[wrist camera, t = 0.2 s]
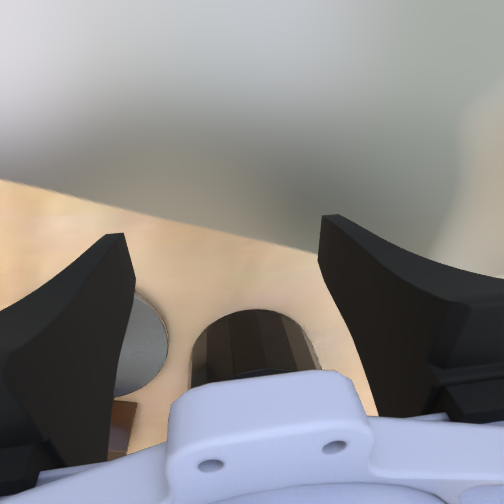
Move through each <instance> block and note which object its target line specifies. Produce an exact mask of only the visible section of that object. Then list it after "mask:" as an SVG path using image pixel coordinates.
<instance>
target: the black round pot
mask: <svg viewBox="0 0 504 504" xmlns="http://www.w3.org/2000/svg"><path fill="white" fill-rule="evenodd" d="M307 370H322V368H321V366H320V363H319V361H318V358H317V356H316V353H315V351H314V348H313V346H312V343H311V341H310V340H309V338H308V336H307V335H306V333H305V331H304V330H303V329H302V328H301V326H300V325H299V324H297V323H296V322H295V321H294V320H292V319H291V318H289V317H287V316H285V315H283V314H280V313H277V312H274V311H269V310H260V309H255V310H244V311H239V312H235V313H232V314H229V315H227V316H224V317H222V318H220V319H218V320H217V321H215V322H214V323H212V324H211V325H210V326H209V327H207V328H206V329H205V330H204V331H203V332H202V334H201V335H200V336H199V338H198V339H197V341H196V342H195V344H194V347H193V349H192V353H191V359H190V364H189V374H188V389H187V391H188V390H189V389H192V388H196V387H199V386H202V385H206V384H209V383H214V382H222V381H230V380H237V379H245V378H253V377H261V376H268V375H276V374H284V373H292V372H299V371H307Z"/></svg>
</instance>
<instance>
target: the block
mask: <svg viewBox="0 0 504 504" xmlns="http://www.w3.org/2000/svg"><path fill="white" fill-rule="evenodd" d="M136 408H137V403H130V402H121V401H113V406H112V415H111V424H110V435H109V446H108V459H107V462H108V461H112V460H115V459H117V458H120V457H123V456H126V455H127V451H128V446H129V442H130V437H131V432H132V427H133V422H134V418H135V413H136Z"/></svg>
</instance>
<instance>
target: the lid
mask: <svg viewBox="0 0 504 504" xmlns="http://www.w3.org/2000/svg"><path fill="white" fill-rule="evenodd" d="M168 344H169V340H168V333H167V329H166V326H165V323H164V321H163V319H162V317H161V316H160V314H159V313H158V311H157V310H156V309H155V308H154V306H153V305H152V304H151V303H149V302H148V301H147V300H146V299H145V298H144V297H142V296H141V295H139V294H138V293H136V292H135V294H134V302H133V306H132V310H131V314H130V318H129V322H128V326H127V330H126V333H125V337H124V341H123V345H122V349H121V353H120V357H119V362H118V367H117V375H116V382H115V389H114V397H119V396H123V395H126V394H129V393H132V392H134V391H136V390H138V389H140V388H142V387H143V386H145V385H146V384H148V383H149V382H150V381H151V380H152V379H154V377H155V376H156V375H157V374H158V373H159V371H160V370H161V368H162V367H163V365H164V363H165V360H166V357H167V353H168ZM114 397H113V398H114Z"/></svg>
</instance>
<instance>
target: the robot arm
mask: <svg viewBox="0 0 504 504" xmlns="http://www.w3.org/2000/svg"><path fill="white" fill-rule="evenodd" d="M318 264H319V267H320V270H321V273H322V276H323V279H324V282H325V284H326V286H327V288H328V290H329V292H330V294H331V296H332V298H333V300H334V302H335V304H336V306H337V307H338V309H339V311H340V313H341V315H342V317H343V319H344V321H345V323H346V325H347V327H348V329H349V331H350V334H351V336H352V338H353V341H354V344H355V346H356V349H357V352H358V354H359V357H360V360H361V363H362V365H363V368H364V371H365V374H366V377H367V380H368V383H369V386H370V389H371V392H372V395H373V399H374V402H375V405H376V408H377V411H378V415H379V417H378V416H367V415H366V413H365V410H364V408H363V406H362V403H361V401H360V399H359V396H358V394H357V392H356V389H355V387H354V385H353V382H352V380H351V379H349V378H347V377H345V376H344V375H342V374H340V373H339V372H337V371H330V370H307V371H299V372H292V373H284V374H276V375H268V376H261V377H253V378H245V379H237V380H230V381H222V382H214V383H209V384H206V385H202V386H199V387H196V388H192V389H189V390H188V391H186V392H185V393H184V394H183V395H182V396H180V397H179V398H178V399H177V400H176V401H174V402H173V403H172V404H171V408H170V413H169V418H168V432H167V441H166V442H163V443H160V444H157V445H154V446H152V447H149V448H146V449H143V450H140V451H137V452H135V453H132V454H129V455H126V456H123V457H120V458H117V459H115V460H112V461H108V462H107V459H108V446H109V435H110V424H111V415H112V406H113V397H114V389H115V382H116V375H117V367H118V362H119V357H120V353H121V349H122V345H123V341H124V337H125V333H126V330H127V326H128V322H129V318H130V314H131V310H132V306H133V302H134V294H135V283H136V277H135V273H134V269H133V266H132V262H131V258H130V255H129V251H128V247H127V243H126V240H125V236H124V233H114V234H106V235H104V236H103V237H102V238H100V239H99V240H98V241H97V242H96V243H94V244H93V245H92V246H91V247H90V248H89V249H88V250H86V251H85V252H84V253H83V254H82V255H81V256H80V257H78V258H77V259H76V260H75V261H74V262H73V263H71V264H70V265H69V266H68V267H66V268H65V269H64V270H63V271H61V272H60V273H59V274H57V275H56V276H55V277H54V278H52V279H51V280H50V281H48V282H47V283H46V284H44V285H43V286H41V287H40V288H38V289H37V290H35V291H34V292H32V293H31V294H29V295H27V296H26V297H24V298H23V299H21V300H19V301H18V302H16V303H14V304H12V305H10V306H9V307H7V308H5V309H3V310H1V311H0V504H504V279H500V278H495V277H490V276H486V275H481V274H477V273H473V272H468V271H465V270H461V269H457V268H454V267H451V266H448V265H444V264H441V263H438V262H435V261H432V260H429V259H427V258H424V257H422V256H419V255H417V254H414V253H412V252H409V251H407V250H405V249H402V248H400V247H398V246H396V245H394V244H392V243H390V242H388V241H386V240H384V239H382V238H380V237H378V236H377V235H375V234H373V233H371V232H370V231H368V230H366V229H364V228H362V227H361V226H359V225H357V224H356V223H354V222H352V221H350V220H349V219H347V218H345V217H343V216H340V215H339V214H336V215H323V216H322V221H321V232H320V241H319V252H318Z"/></svg>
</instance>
